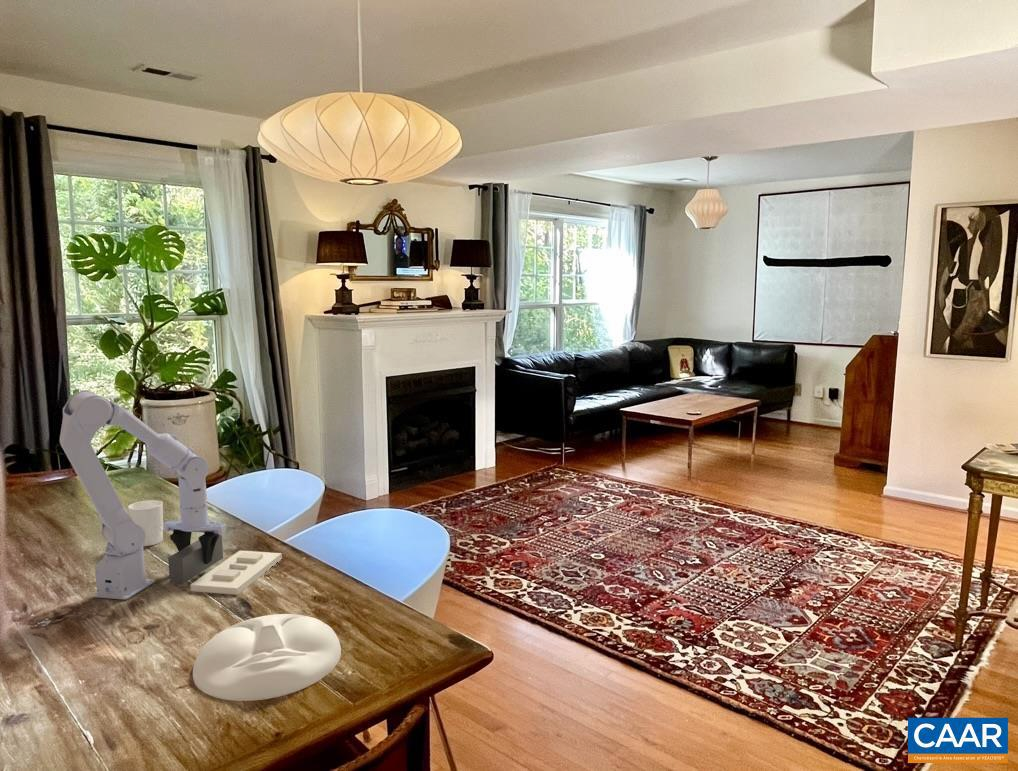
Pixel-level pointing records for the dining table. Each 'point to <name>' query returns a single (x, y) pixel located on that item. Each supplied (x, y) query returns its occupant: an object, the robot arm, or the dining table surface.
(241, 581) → the plate
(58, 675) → the dining table surface
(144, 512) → the white cup
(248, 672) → the theatrical mask
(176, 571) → the matte grey box
